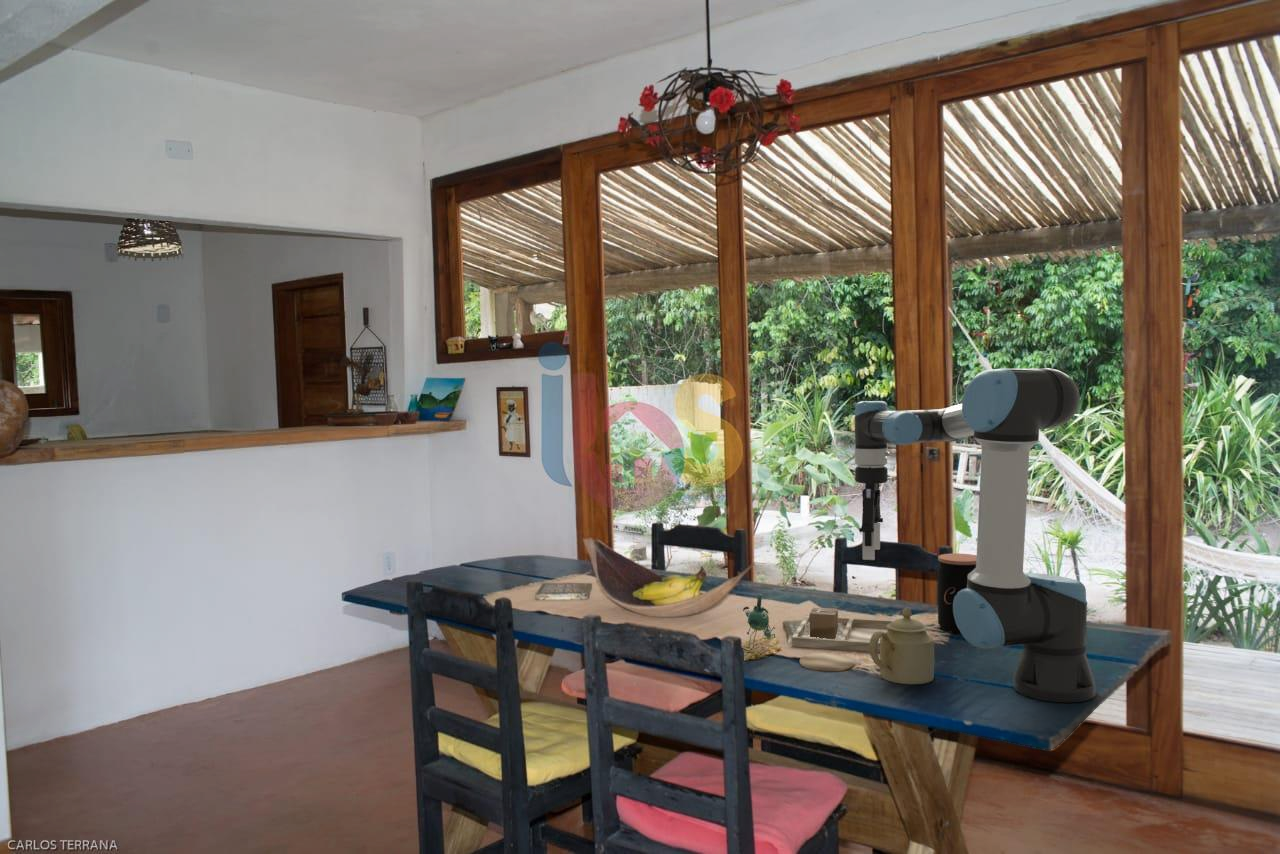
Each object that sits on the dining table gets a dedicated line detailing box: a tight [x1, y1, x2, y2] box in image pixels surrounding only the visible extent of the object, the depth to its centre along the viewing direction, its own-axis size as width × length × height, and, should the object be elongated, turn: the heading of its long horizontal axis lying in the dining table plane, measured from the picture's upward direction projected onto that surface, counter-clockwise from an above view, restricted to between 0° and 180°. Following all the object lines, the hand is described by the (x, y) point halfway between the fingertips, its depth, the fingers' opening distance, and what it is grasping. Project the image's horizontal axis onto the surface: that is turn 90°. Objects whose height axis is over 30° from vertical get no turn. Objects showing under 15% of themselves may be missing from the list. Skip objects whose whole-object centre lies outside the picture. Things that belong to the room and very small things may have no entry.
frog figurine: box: [742, 593, 782, 661], centre depth 226 cm, size 10×18×15 cm, turn 141°
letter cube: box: [809, 607, 839, 639], centre depth 237 cm, size 6×6×6 cm
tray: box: [791, 614, 895, 653], centre depth 236 cm, size 22×23×2 cm
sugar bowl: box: [869, 606, 935, 685], centre depth 204 cm, size 15×11×15 cm
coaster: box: [799, 652, 856, 672], centre depth 217 cm, size 12×12×1 cm
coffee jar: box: [937, 553, 977, 634], centre depth 243 cm, size 11×11×18 cm
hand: (871, 554), depth 233 cm, fingers open, 13 cm apart
